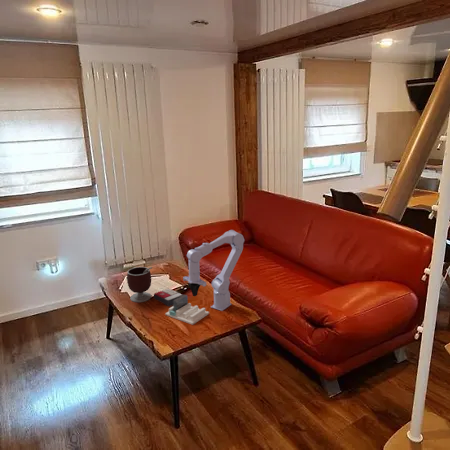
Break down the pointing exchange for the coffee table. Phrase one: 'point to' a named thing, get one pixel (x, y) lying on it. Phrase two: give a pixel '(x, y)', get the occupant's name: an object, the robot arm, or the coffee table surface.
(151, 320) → the coffee table surface
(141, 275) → the mate gourd
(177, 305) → the panel
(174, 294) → the calculator
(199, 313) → the rack
